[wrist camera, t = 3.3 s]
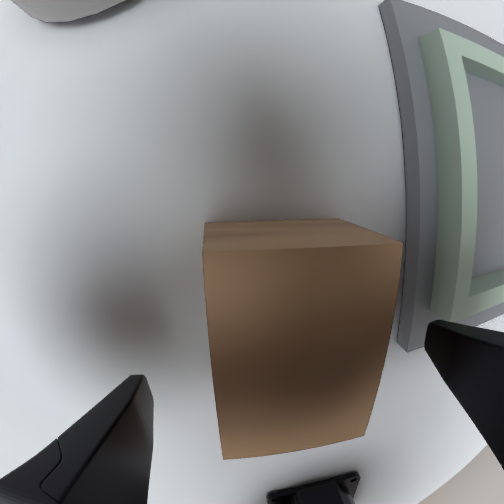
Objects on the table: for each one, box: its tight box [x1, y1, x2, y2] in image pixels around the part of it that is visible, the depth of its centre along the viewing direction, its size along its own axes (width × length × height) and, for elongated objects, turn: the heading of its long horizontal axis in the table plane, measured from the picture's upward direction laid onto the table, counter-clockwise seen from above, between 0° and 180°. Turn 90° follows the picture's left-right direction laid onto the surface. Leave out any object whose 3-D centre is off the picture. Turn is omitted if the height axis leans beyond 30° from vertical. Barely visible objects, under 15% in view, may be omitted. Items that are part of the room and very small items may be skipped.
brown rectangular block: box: [202, 219, 403, 460], centre depth 10 cm, size 7×5×4 cm
